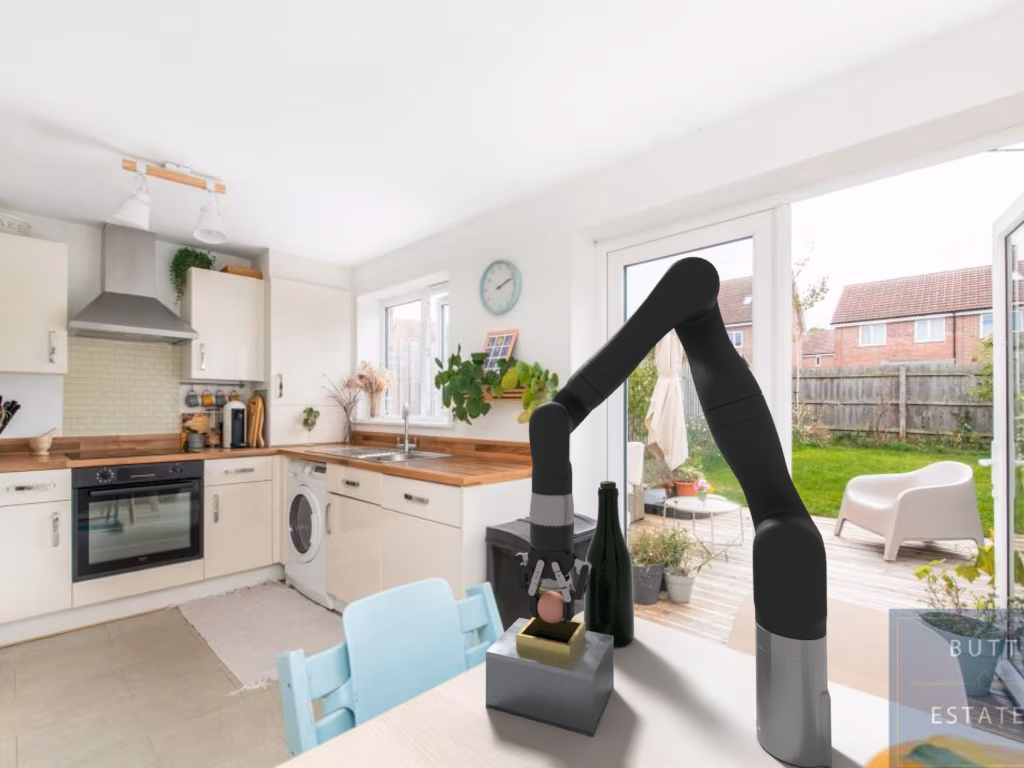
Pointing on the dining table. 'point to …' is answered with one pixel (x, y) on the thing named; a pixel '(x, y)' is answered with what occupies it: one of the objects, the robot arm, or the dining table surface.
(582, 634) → the grey box with opening
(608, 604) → the dark green wine bottle
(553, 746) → the dining table surface
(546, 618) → the ball
